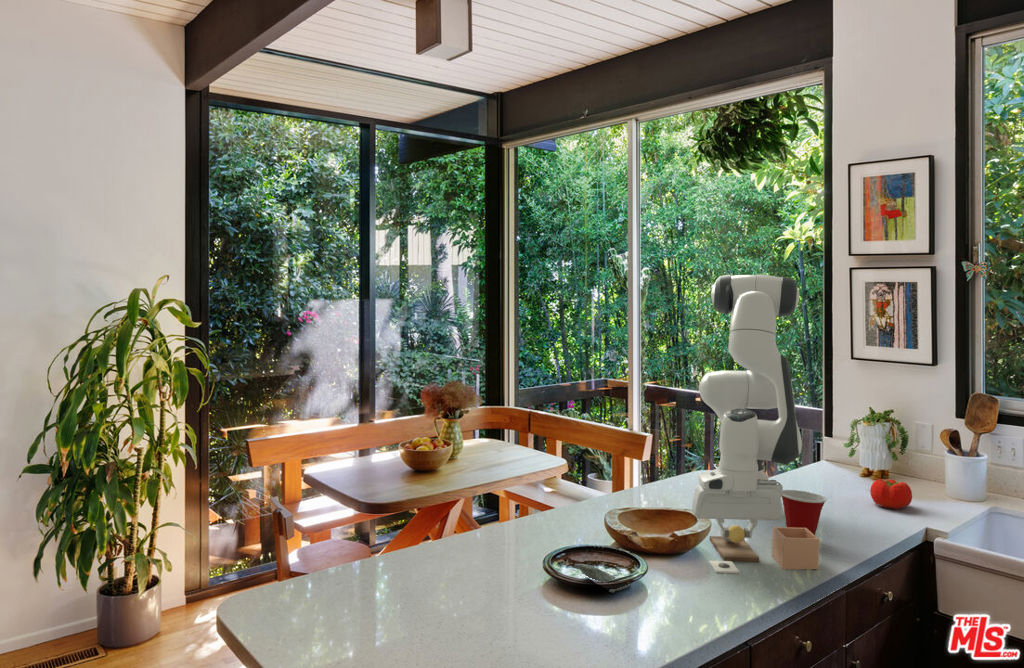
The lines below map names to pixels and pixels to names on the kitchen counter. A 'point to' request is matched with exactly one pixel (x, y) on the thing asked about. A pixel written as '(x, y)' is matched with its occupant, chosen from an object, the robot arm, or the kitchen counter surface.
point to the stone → (598, 575)
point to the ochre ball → (736, 534)
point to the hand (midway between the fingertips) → (736, 536)
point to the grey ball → (727, 537)
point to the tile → (724, 567)
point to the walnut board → (734, 550)
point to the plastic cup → (802, 509)
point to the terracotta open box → (795, 548)
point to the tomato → (891, 493)
